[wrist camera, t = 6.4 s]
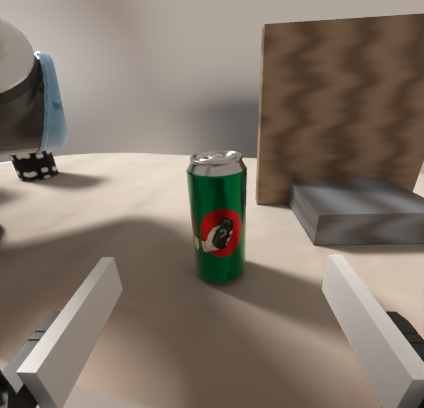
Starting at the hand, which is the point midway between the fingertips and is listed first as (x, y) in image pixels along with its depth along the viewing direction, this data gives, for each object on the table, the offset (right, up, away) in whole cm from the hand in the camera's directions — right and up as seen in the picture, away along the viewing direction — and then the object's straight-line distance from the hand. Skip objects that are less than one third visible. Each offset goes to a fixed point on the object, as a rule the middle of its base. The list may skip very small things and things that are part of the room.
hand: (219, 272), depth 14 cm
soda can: (0, -3, +10) cm, 10 cm away
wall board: (+19, +3, +18) cm, 26 cm away
